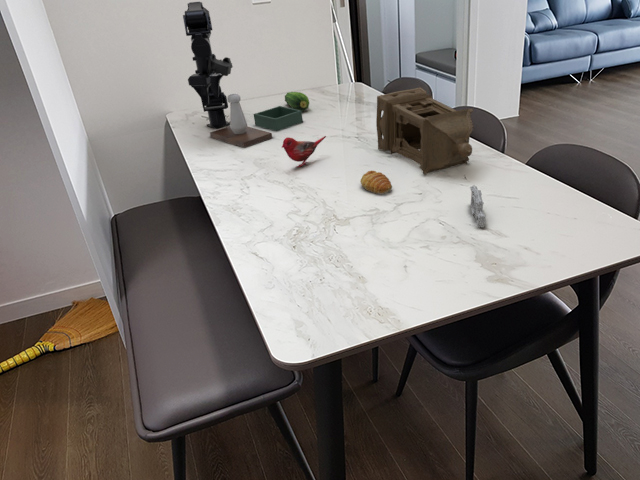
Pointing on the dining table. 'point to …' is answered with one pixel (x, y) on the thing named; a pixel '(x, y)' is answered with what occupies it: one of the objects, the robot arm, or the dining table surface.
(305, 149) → the decorative bird figurine
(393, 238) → the dining table surface
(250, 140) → the serving board
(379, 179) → the pastry
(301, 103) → the vegetable
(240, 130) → the salt shaker
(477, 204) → the garden wall model
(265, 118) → the green square tray
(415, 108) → the brown lantern
